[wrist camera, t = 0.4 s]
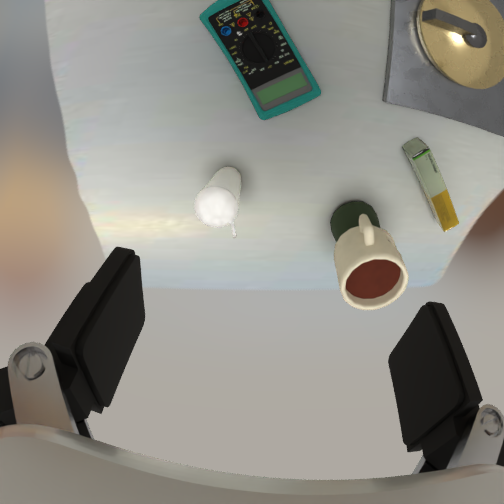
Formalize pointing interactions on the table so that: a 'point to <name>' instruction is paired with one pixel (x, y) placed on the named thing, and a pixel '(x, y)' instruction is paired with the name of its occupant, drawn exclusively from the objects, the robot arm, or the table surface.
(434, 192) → the medication box
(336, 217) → the character mug
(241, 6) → the digital multimeter
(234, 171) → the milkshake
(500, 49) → the dial
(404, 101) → the base plate
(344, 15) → the table surface
